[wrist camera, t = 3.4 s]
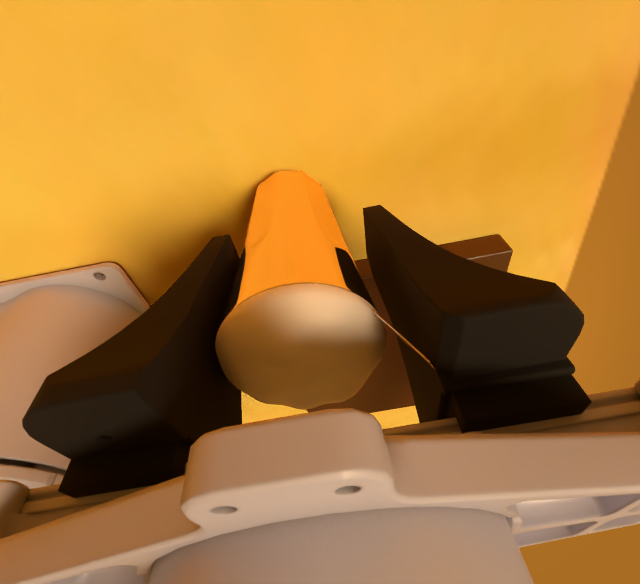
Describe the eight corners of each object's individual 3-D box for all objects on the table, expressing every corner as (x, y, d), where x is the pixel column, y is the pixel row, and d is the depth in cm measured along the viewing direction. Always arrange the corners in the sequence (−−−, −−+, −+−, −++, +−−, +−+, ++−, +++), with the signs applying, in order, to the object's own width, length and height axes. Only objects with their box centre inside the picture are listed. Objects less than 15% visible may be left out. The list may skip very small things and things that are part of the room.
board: (310, 406, 29) (312, 423, 28) (262, 278, 18) (261, 297, 17) (462, 380, 28) (469, 396, 27) (499, 233, 18) (514, 250, 17)
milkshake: (374, 203, 15) (467, 406, 8) (282, 261, 17) (290, 471, 10) (318, 115, 12) (385, 304, 5) (215, 195, 14) (157, 421, 7)
